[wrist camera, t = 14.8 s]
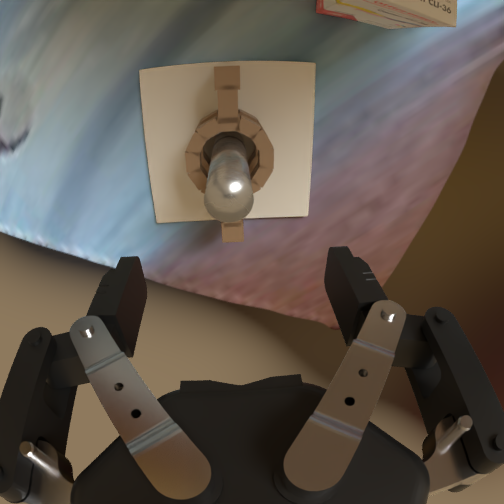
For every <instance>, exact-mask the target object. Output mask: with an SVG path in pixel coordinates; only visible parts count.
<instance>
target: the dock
mask: <svg viewBox="0 0 504 504" xmlns="http://www.w3.org/2000/svg"><path fill="white" fill-rule="evenodd" d="M315 64H316V63H310V62H292V61H224V62H206V63H193V64H182V65H172V66H164V67H156V68H149V69H142V70H139V76H140V90H141V102H142V113H143V123H144V133H145V142H146V150H147V159H148V166H149V174H150V181H151V188H152V195H153V201H154V208H155V214H156V220H157V223H167V222H183V221H201V220H216V219H214V218H213V217H212V216H211V215H210V214H209V213H208V212H207V210H206V208H205V205H204V195H205V189H206V184H207V178H208V173H209V167H210V162H211V157H212V151H213V146H214V141H215V139H216V137H217V135H218V134H219V133H221V132H229V131H236V132H238V133H239V134H240V135H241V136H242V137H243V140H244V144H245V149H246V156H247V161H248V167H249V173H250V179H251V184H252V190H253V196H254V204H253V207H252V209H251V211H250V213H249V214H248V215H247V216H246V217H245V218H267V217H297V216H308V208H309V195H310V180H311V165H312V147H313V127H314V102H315ZM221 227H222V242H243V241H244V233H243V219H241V220H239V221H237V222H231V223H226V222H221Z"/></svg>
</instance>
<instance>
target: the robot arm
mask: <svg viewBox="0 0 504 504" xmlns="http://www.w3.org/2000/svg"><path fill="white" fill-rule="evenodd" d="M324 283H325V289H326V292H327V295H328V297H329V300H330V303H331V305H332V308H333V311H334V313H335V316H336V319H337V321H338V324H339V327H340V329H341V332H342V335H343V338H344V340H345V343H346V346H350V348H349V350H348V352H347V354H346V356H345V358H344V360H343V362H342V364H341V366H340V367H339V369H338V371H337V373H336V375H335V376H334V378H333V380H332V382H331V384H330V385H329V387H328V389H327V390H326V389H324V388H322V387H320V386H317V385H314V384H309V383H303V382H302V379H301V375H300V374H297V375H287V376H276V377H269V378H266V379H263V380H259V381H256V382H252V383H249V384H245V385H233V384H227V383H222V382H216V381H211V380H203V381H181V384H180V390H176V391H173V392H170V393H167V394H165V395H163V396H161V397H160V398H158V399H156V398H155V397H154V395H153V394H152V393H151V391H150V390H149V389H148V387H147V386H146V384H145V383H144V381H143V380H142V379H141V377H140V376H139V375H138V373H137V371H136V370H135V369H134V367H133V366H132V364H131V363H130V361H129V360H128V358H127V357H133V355H134V350H135V345H136V341H137V337H138V332H139V328H140V324H141V320H142V316H143V311H144V307H145V303H146V299H147V287H146V282H145V278H144V274H143V270H142V266H141V262H140V259H139V257H138V256H132V257H121V258H120V260H119V262H118V264H117V267H116V269H111V270H109V271H108V272H107V273H106V274H105V275H104V276H103V278H102V280H101V282H100V284H99V287H98V289H97V291H96V294H95V296H94V298H93V300H92V303H91V305H90V308H89V310H88V313H87V315H86V316H85V317H82V318H80V319H78V320H77V321H76V322H74V324H73V325H72V326H71V328H70V332H67V333H63V334H58V335H54V336H52V335H51V333H50V331H49V330H48V329H47V328H43V327H38V328H35V329H32V330H31V331H29V332H28V333H27V334H26V335H25V336H24V338H23V340H22V342H21V344H20V347H19V349H18V352H17V354H16V357H15V359H14V362H13V364H12V367H11V370H10V372H9V375H8V378H7V381H6V384H5V386H4V389H3V392H2V395H1V398H0V496H1V497H3V498H4V499H6V500H7V501H9V502H10V503H12V504H426V503H427V499H428V497H429V496H432V495H434V494H437V493H440V492H442V491H445V490H448V491H451V492H459V491H462V490H463V489H465V488H467V487H469V486H470V485H472V484H474V483H475V482H477V481H478V480H480V479H482V478H483V477H485V476H486V475H488V474H489V473H491V472H492V471H494V470H495V469H497V468H498V467H500V466H501V465H502V464H504V411H503V409H502V407H501V405H500V402H499V400H498V398H497V396H496V394H495V392H494V389H493V387H492V385H491V383H490V381H489V379H488V377H487V375H486V373H485V371H484V369H483V367H482V365H481V363H480V361H479V359H478V357H477V356H476V354H475V352H474V350H473V348H472V346H471V344H470V343H469V341H468V339H467V337H466V335H465V334H464V332H463V330H462V329H461V327H460V325H459V323H458V322H457V320H456V318H455V317H454V315H453V314H452V313H451V312H449V311H448V310H446V309H444V308H441V307H432V308H430V309H428V310H427V312H426V314H425V316H416V315H409V314H406V313H405V311H404V309H403V308H402V307H401V306H400V305H398V304H397V303H395V302H392V301H389V300H388V298H387V297H386V295H385V293H384V292H383V290H382V288H381V286H380V284H379V283H378V281H377V280H376V277H375V276H374V274H373V273H372V271H371V269H370V267H369V265H368V264H367V263H366V262H365V261H363V260H362V259H361V258H359V257H353V255H352V253H351V251H350V250H349V248H348V247H347V246H342V247H330V248H329V251H328V257H327V264H326V270H325V278H324ZM391 366H397V367H404V368H405V370H406V373H407V376H408V378H409V381H410V384H411V386H412V389H413V392H414V394H415V397H416V400H417V403H418V406H419V409H420V412H421V415H422V418H423V421H424V424H425V427H426V430H427V434H428V435H427V436H426V437H425V439H424V441H423V444H422V453H423V458H422V460H421V458H420V457H419V456H418V455H416V454H415V453H414V452H413V451H411V450H410V449H408V448H407V447H405V446H404V445H402V444H401V443H399V442H398V441H397V440H395V439H394V438H392V437H391V436H390V435H388V434H387V433H385V432H384V431H382V430H381V429H380V428H379V427H377V426H376V425H374V424H373V423H372V422H370V421H369V419H370V417H371V415H372V413H373V410H374V408H375V405H376V403H377V401H378V398H379V396H380V393H381V391H382V389H383V386H384V384H385V381H386V378H387V376H388V373H389V370H390V368H391ZM85 383H91V385H92V386H93V388H94V391H95V392H96V394H97V396H98V398H99V400H100V402H101V404H102V405H103V407H104V409H105V411H106V412H107V414H108V416H109V418H110V419H111V421H112V423H113V425H114V426H115V428H116V429H117V431H118V433H119V434H120V436H119V437H118V438H117V439H115V440H114V441H113V442H112V443H111V444H110V445H109V446H108V447H107V448H106V449H105V450H104V451H103V452H102V453H101V454H100V455H99V456H98V457H97V458H96V459H95V460H94V461H93V462H92V463H91V464H90V465H89V466H88V467H87V468H86V469H85V470H83V471H82V472H81V473H80V474H79V476H78V477H77V478H76V480H75V481H74V478H73V469H72V465H71V463H70V461H69V460H68V459H67V458H66V457H65V451H66V445H67V438H68V432H69V427H70V421H71V416H72V410H73V406H74V400H75V395H76V391H77V387H78V385H80V384H85Z"/></svg>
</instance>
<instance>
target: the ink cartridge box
mask: <svg viewBox="0 0 504 504" xmlns="http://www.w3.org/2000/svg"><path fill="white" fill-rule="evenodd" d="M316 13H319V14H326V15H331V16H336V17H341V18H346V19H351V20H355V21H359V22H363V23H368V24H372V25H375V26H379V27H383V28H386V29H396V28H412V27H456V18H457V0H317V1H316Z"/></svg>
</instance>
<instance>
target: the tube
mask: <svg viewBox="0 0 504 504" xmlns="http://www.w3.org/2000/svg"><path fill="white" fill-rule="evenodd" d="M253 204H254V196H253V190H252V184H251V179H250V173H249V167H248V161H247V156H246V149H245V144H244V140H243V137H242V136H241V135H240V134H239V133H238V132H236V131H229V132H221V133H219V134H218V135H217V137H216V139H215V141H214V146H213V151H212V157H211V162H210V167H209V173H208V178H207V184H206V189H205V195H204V205H205V208H206V210H207V212H208V213H209V214H210V215H211V216H212V217H213V218H214V219H216V220H218V221H221V222H226V223H231V222H237V221H239V220H241V219H243V218H245V217H246V216H247V215H248V214H249V213H250V211H251V209H252V207H253Z"/></svg>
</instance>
